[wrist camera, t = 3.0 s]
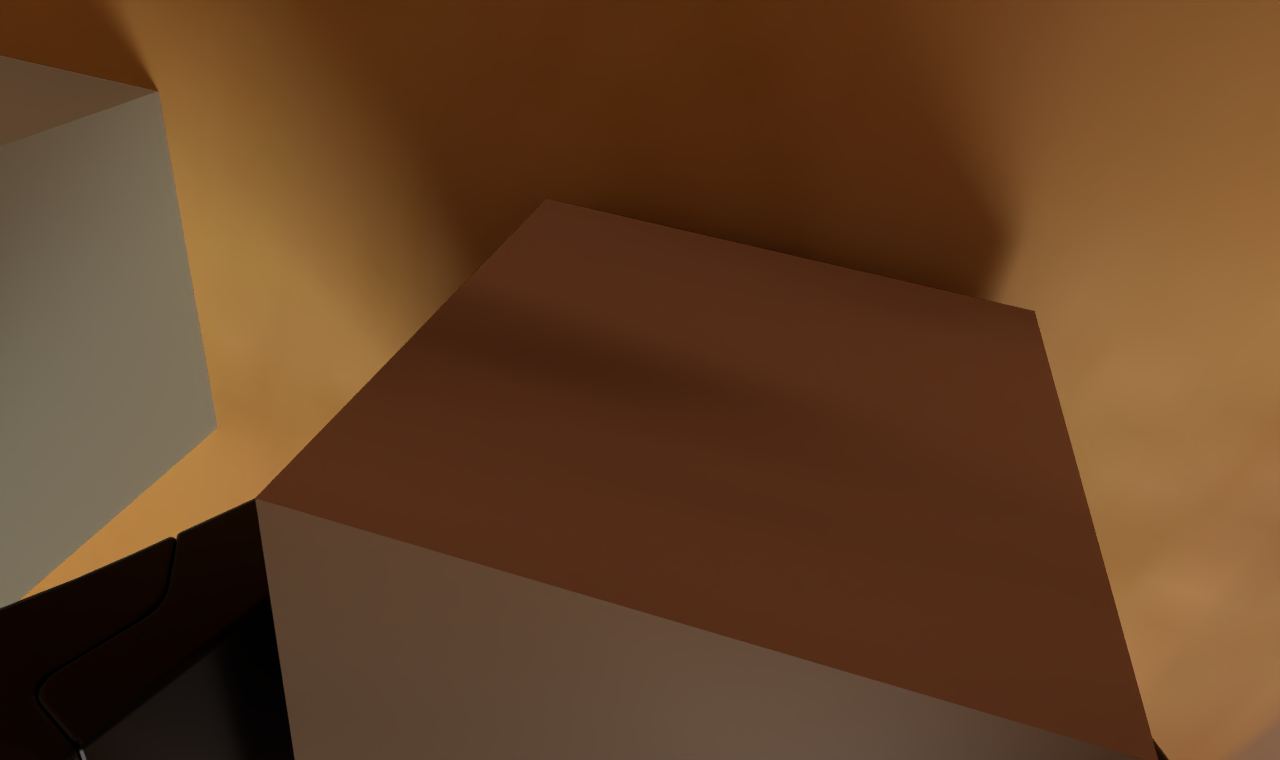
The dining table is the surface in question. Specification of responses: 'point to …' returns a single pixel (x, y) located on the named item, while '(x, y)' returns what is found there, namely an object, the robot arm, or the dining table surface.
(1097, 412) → the dining table surface
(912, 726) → the walnut block
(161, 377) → the grey-green block
